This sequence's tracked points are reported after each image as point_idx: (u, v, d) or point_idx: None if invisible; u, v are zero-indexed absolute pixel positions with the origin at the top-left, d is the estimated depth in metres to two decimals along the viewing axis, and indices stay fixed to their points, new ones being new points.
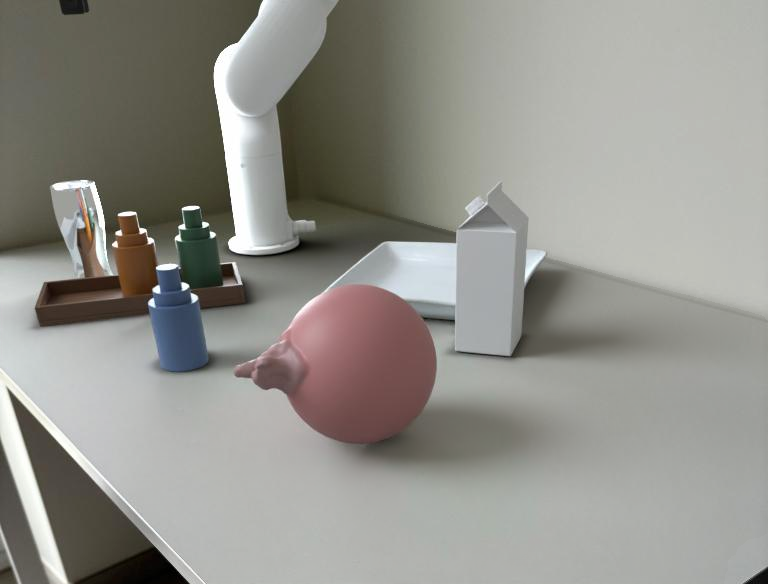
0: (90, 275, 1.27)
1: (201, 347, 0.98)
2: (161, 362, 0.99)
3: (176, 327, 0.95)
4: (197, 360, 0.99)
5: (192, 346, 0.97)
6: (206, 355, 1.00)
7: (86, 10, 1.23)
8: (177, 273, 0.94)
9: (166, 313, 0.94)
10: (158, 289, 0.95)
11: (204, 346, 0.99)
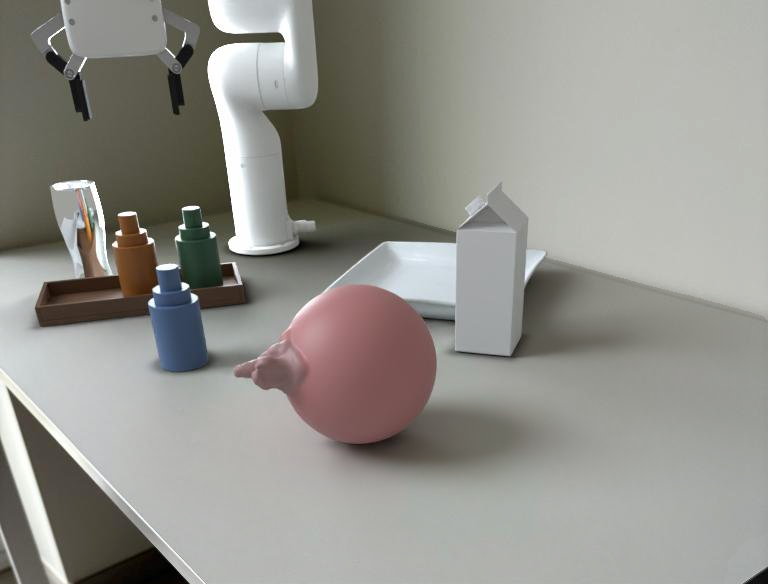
0: (90, 275, 1.27)
1: (201, 347, 0.98)
2: (161, 362, 0.99)
3: (176, 327, 0.95)
4: (197, 360, 0.99)
5: (192, 346, 0.97)
6: (206, 355, 1.00)
7: (91, 115, 0.89)
8: (177, 273, 0.94)
9: (166, 313, 0.94)
10: (158, 289, 0.95)
11: (204, 346, 0.99)
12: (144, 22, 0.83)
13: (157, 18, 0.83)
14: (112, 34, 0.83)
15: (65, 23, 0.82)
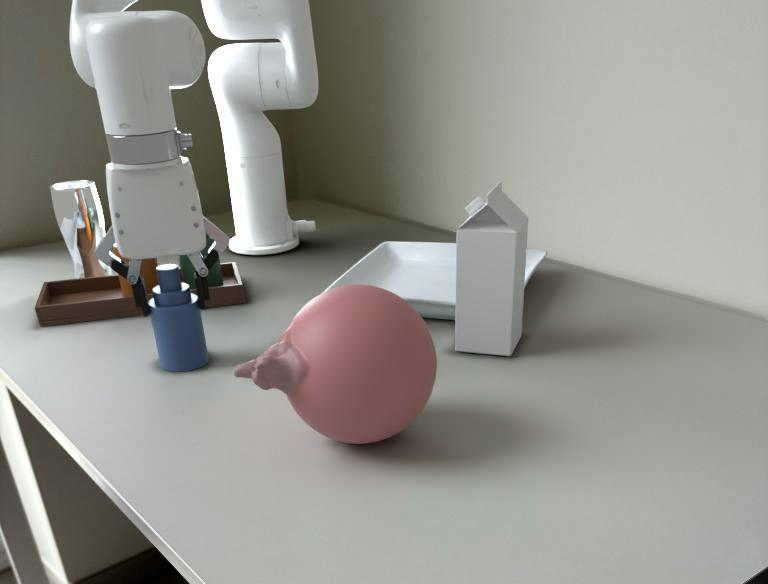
0: (90, 275, 1.27)
1: (201, 347, 0.98)
2: (161, 362, 0.99)
3: (176, 327, 0.95)
4: (197, 360, 0.99)
5: (192, 346, 0.97)
6: (206, 355, 1.00)
7: None
8: (177, 273, 0.94)
9: (166, 313, 0.94)
10: (158, 290, 0.95)
11: (204, 346, 0.99)
12: (186, 228, 0.90)
13: (198, 224, 0.91)
14: (157, 240, 0.90)
15: (115, 232, 0.89)
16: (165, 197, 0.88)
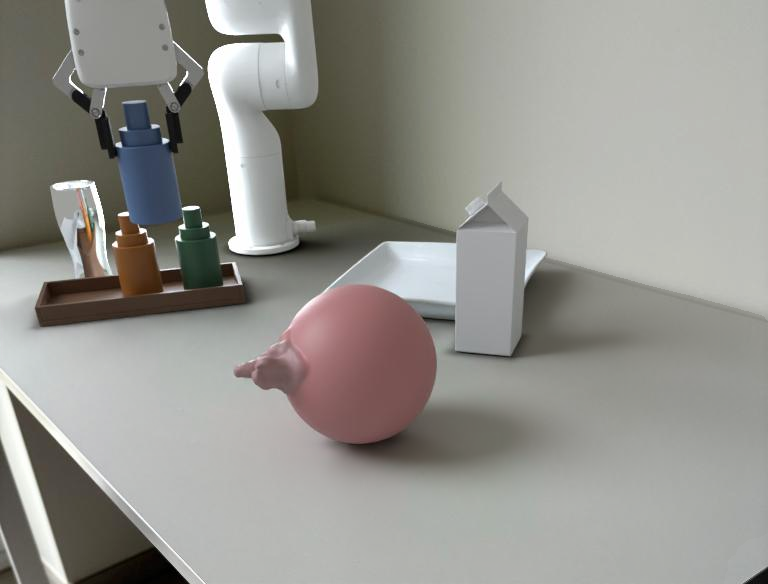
0: (90, 275, 1.27)
1: (174, 197, 0.89)
2: (130, 215, 0.90)
3: (145, 171, 0.86)
4: (170, 212, 0.90)
5: (163, 195, 0.88)
6: (180, 209, 0.91)
7: None
8: (146, 109, 0.85)
9: (134, 154, 0.85)
10: (125, 129, 0.86)
11: (177, 198, 0.90)
12: (154, 51, 0.81)
13: (167, 47, 0.81)
14: (121, 64, 0.81)
15: (74, 54, 0.80)
16: (129, 11, 0.79)
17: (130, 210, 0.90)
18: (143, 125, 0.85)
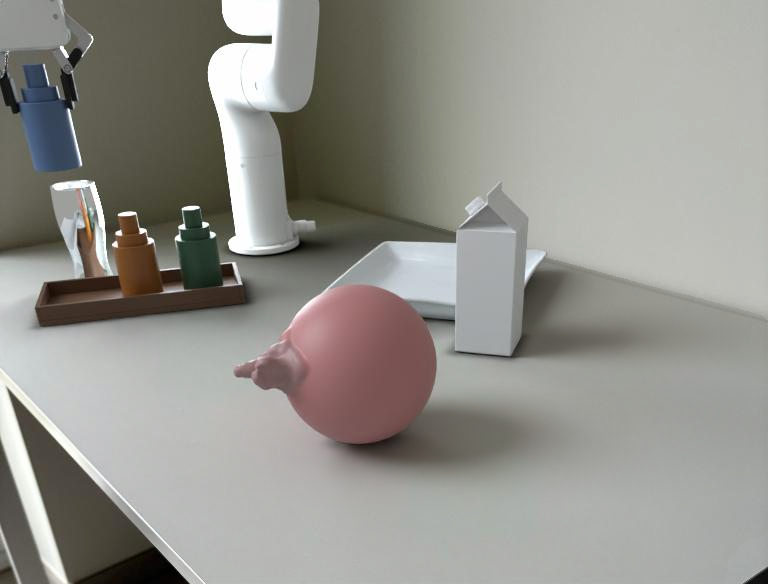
0: (90, 275, 1.27)
1: (71, 148, 1.04)
2: (34, 164, 1.04)
3: (43, 124, 1.00)
4: (68, 161, 1.04)
5: (61, 145, 1.02)
6: (78, 159, 1.05)
7: None
8: (43, 70, 0.99)
9: (33, 108, 0.99)
10: (26, 87, 1.00)
11: (75, 149, 1.04)
12: (46, 20, 0.96)
13: (58, 16, 0.96)
14: (18, 30, 0.96)
15: None
16: None
17: (33, 159, 1.04)
18: (41, 84, 1.00)
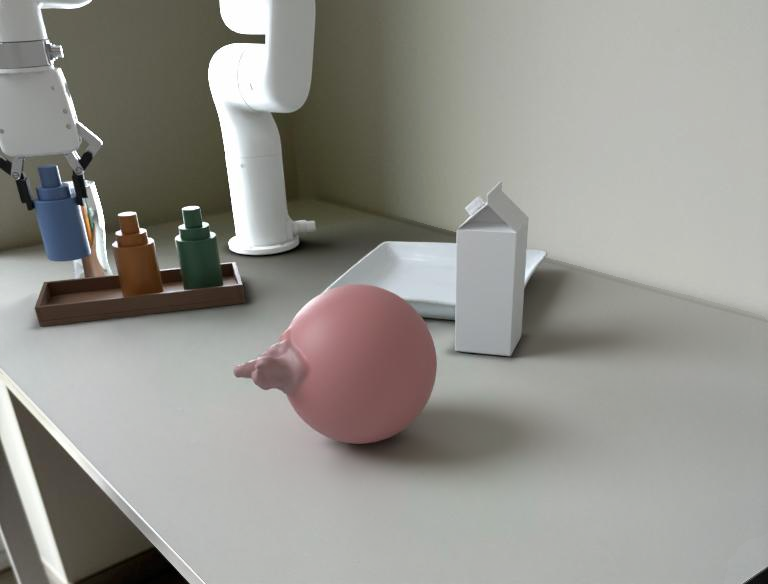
0: (90, 275, 1.27)
1: (81, 240, 1.13)
2: (47, 253, 1.13)
3: (56, 220, 1.09)
4: (78, 251, 1.13)
5: (72, 238, 1.11)
6: (87, 249, 1.14)
7: None
8: (56, 171, 1.08)
9: (46, 206, 1.08)
10: (41, 187, 1.09)
11: (85, 240, 1.13)
12: (60, 129, 1.05)
13: (70, 126, 1.05)
14: (34, 139, 1.05)
15: None
16: (38, 100, 1.02)
17: (46, 249, 1.13)
18: (54, 184, 1.09)
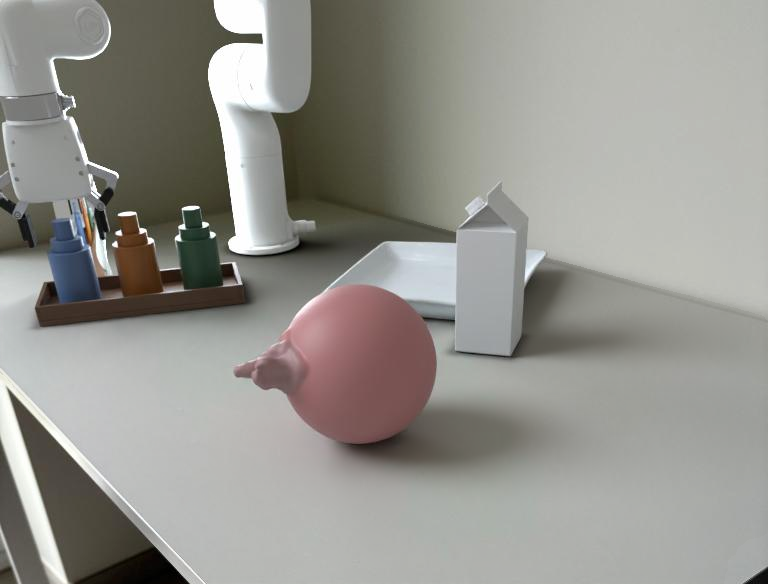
0: None
1: (94, 289, 1.17)
2: (60, 302, 1.17)
3: (69, 271, 1.13)
4: None
5: (85, 288, 1.15)
6: (99, 297, 1.18)
7: (36, 240, 1.14)
8: (69, 225, 1.12)
9: (60, 259, 1.12)
10: (55, 239, 1.13)
11: (97, 289, 1.17)
12: (73, 176, 1.08)
13: (83, 173, 1.08)
14: (48, 186, 1.08)
15: (12, 180, 1.07)
16: (52, 149, 1.05)
17: (60, 299, 1.17)
18: (68, 237, 1.13)
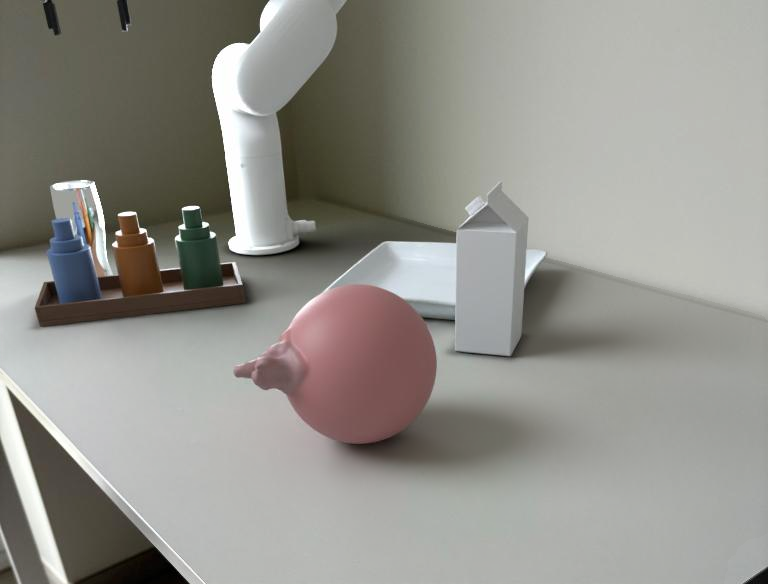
0: None
1: (94, 289, 1.17)
2: (60, 302, 1.17)
3: (69, 271, 1.13)
4: None
5: (85, 288, 1.15)
6: (99, 297, 1.18)
7: (60, 32, 1.18)
8: (69, 225, 1.12)
9: (60, 259, 1.12)
10: (55, 239, 1.13)
11: (97, 289, 1.17)
12: None
13: None
14: None
15: None
16: None
17: (60, 299, 1.17)
18: (68, 237, 1.13)
